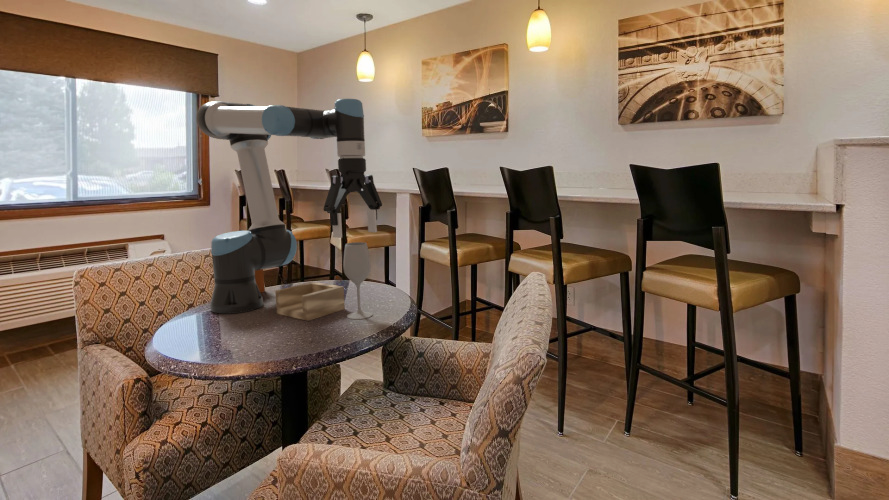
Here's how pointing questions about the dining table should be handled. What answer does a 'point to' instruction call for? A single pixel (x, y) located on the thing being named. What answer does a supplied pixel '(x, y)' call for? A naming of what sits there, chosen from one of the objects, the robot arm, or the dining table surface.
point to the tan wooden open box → (310, 300)
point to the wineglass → (357, 271)
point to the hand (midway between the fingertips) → (355, 234)
